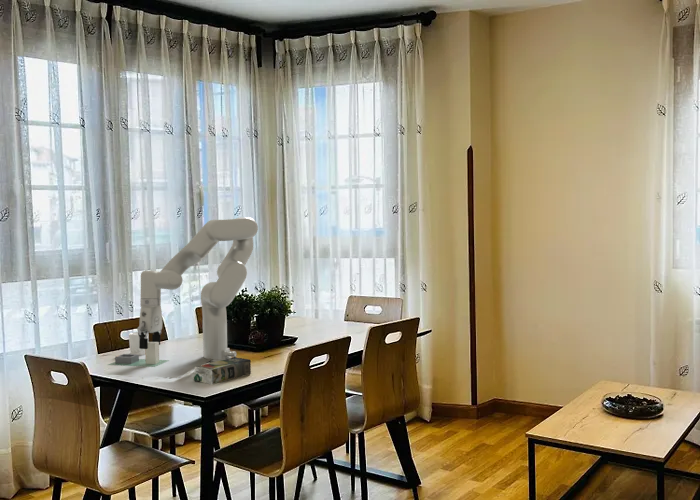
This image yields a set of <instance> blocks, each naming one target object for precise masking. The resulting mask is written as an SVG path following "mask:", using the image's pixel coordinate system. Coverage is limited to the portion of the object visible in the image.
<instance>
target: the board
mask: <svg viewBox="0 0 700 500" xmlns="http://www.w3.org/2000/svg"><path fill="white" fill-rule="evenodd" d="M114 359H115V361H114V362H113V361H112V362H111V363H108V364H107V366H122V367H123V366H125V367H144V368H146V367H148V368H149V367H151V368H156V367H157V366H160V365H162V364H164V363H167V362H170V360H169V359H159V363H157V364H146V358H140V355H138V354H131V353H122V354H118V355H115V357H114Z"/></svg>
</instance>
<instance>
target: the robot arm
mask: <svg viewBox="0 0 700 500" xmlns="http://www.w3.org/2000/svg"><path fill="white" fill-rule="evenodd" d="M258 230H259V226H258V223H257V222H256V220H255V219H254V218H252V217H241V216H240V217H236V218H228V219H210V220H208V221H207V222H206V223H205V224H204V225H203V226H202V227H201V228H200V229H199V230H198V232H197V233H196V234H195V235H194V236H193V237H192V238H191V240H189V242H188V243H187V244H186V245H185V246H184V247H183V248H181V250H180V251H179V252H177V253H176V254H175V255H174V256H173V257H172V258H171V259H170V260H169V261H168V262H167V264H165V266H164V267H162V269H161V270H160V271H159V270H152V269H151V270H150V269H149V270H143V271H141V273H140V299H139V300H140V305H139V306H140V311H139V312H140V313H139V326H138V327H137V328H136V330H137V332H138V335H139V338H140V341H139V348H140V349H148V342H149V336H148V333H150V334H152V338H151V339H152V341H151V342H159V346H160V345H161V334H162V329H163V311H162V305H161V302H162V301H161V298H162V297H161V295H162V293H161V291H162V289H163V290H170V291H173V290H178V288H180V287H181V286H182V285H183V281H184V280H183V274H184V273H185V272H186V271H187V270H188V269H189V268H190V267H192V266H194V265H196V264H198V263H200V262H201V261H203V260H204V259H205V258H206V257H207V255H208V254H209V253H210V252H211V250H212V249H213V248H214V247H215V246H216V245H217V244H218V243H219V242H229V241H232V244H231V247H230V249H229V250H228V252H227V253H226V255H225V256H224V258H223V259H222V261H221V262H220V264H219V265H218V267H217V271H216V275H217V277H218V279H217V281H210V282H207V283H206V284H205V285H204V286H203V287H202V289H201V291H200V304H201V312H202V349H203V350H202V353H203V359H206V360H208V361H206V363H205V364H208V363H211V362H216V361H220V360H225V359H230V358H232V357H236V358H237V351H231V350H230V347H228V323H227V322H228V319H227V318H228V317H227V307H228V306H229V305H230V304H231V303H232V302H233V301H234V299H235V297H236V296H237V294H238V292H239V291H240V289H241V288H242V286H243V285H244V283H245V280H246V279H247V275H248V272H247V271H248V270H247V267H246V264H247V263H248V261H249V259H250V257H251V255H252V254H253V253H252V252H253V250H254V238H253V237H255V236H256V234H258ZM144 333H145V334H144ZM147 336H148V338H147Z"/></svg>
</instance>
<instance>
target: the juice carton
mask: <svg viewBox="0 0 700 500" xmlns="http://www.w3.org/2000/svg"><path fill="white" fill-rule="evenodd" d="M251 362H252V361H251V359H249V358H242V357H237V356H236V357H231V358H230V359H225V360H220V361H216V362H211V363H205V364H200V365H197V366H194V376H193V380H194V381H195V382H199V383H200V382H201V383H204V384H209V385H215V384H218V383H222V382H226V381H229V380H230V381H231V380H233V379H237V378H241V377H245V376H249V375H251V374H252V373H251V372H252V371H251V369H252V367H251V366H252V365H251Z"/></svg>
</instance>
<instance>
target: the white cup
mask: <svg viewBox="0 0 700 500" xmlns="http://www.w3.org/2000/svg"><path fill="white" fill-rule="evenodd" d="M144 334H145V333H144ZM147 338H148V339H149V333H148V336H147ZM128 341H129V342H128V343H129V352H130V353H129V354H138V355H139V356H144V355H145V349H140V348H139V341H140V338H139V335H138V331H136V332H130V333H128ZM145 356H146V355H145Z"/></svg>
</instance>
